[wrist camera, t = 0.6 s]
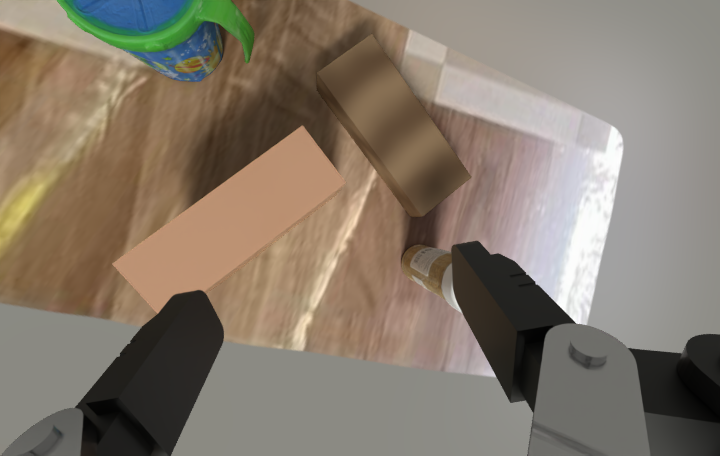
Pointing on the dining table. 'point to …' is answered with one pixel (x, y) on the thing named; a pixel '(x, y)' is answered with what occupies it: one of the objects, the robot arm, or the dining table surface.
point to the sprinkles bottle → (431, 271)
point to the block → (233, 222)
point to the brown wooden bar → (391, 127)
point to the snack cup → (165, 31)
